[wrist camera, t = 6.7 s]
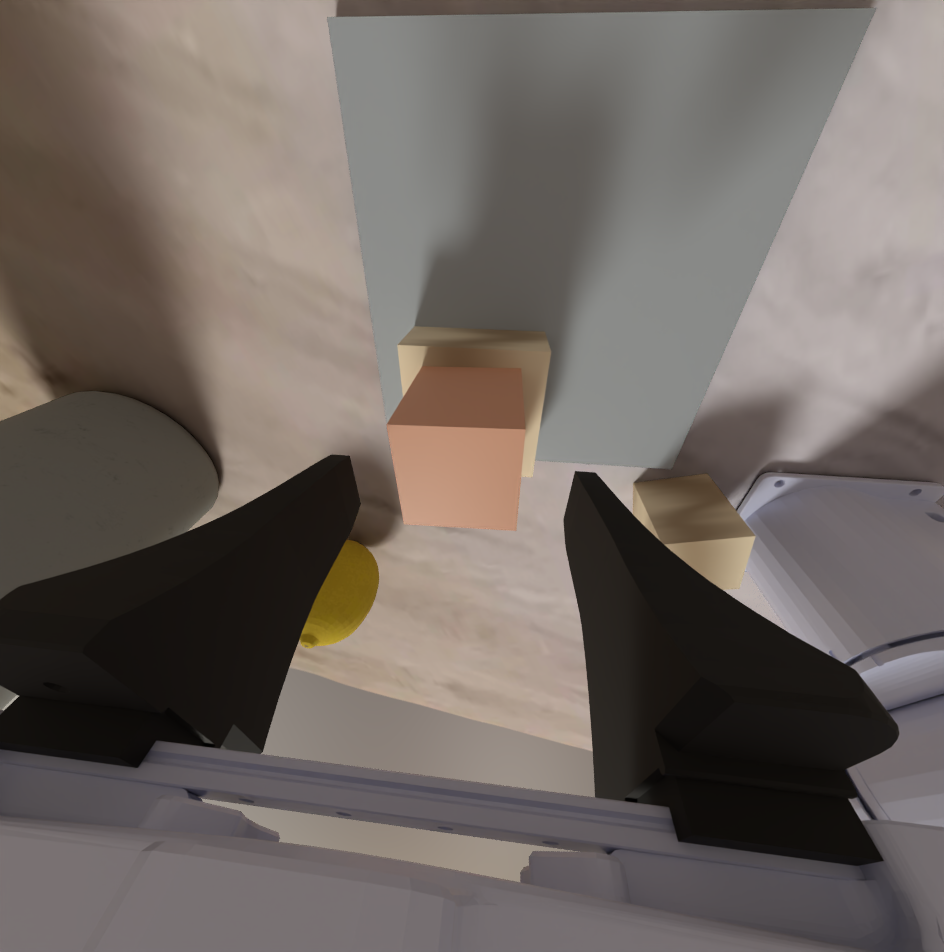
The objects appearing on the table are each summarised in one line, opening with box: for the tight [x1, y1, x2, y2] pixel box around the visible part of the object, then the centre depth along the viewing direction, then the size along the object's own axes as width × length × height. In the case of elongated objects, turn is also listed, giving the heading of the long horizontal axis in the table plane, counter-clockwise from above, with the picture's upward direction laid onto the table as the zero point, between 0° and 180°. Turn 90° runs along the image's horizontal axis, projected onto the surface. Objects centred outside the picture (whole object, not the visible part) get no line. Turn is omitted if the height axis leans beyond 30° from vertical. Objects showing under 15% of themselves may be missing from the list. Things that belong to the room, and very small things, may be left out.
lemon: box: [299, 540, 379, 648], centre depth 23 cm, size 6×6×8 cm
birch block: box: [633, 473, 756, 590], centre depth 20 cm, size 4×4×5 cm
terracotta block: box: [387, 366, 526, 531], centre depth 13 cm, size 4×4×5 cm
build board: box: [327, 8, 876, 469], centre depth 15 cm, size 16×16×1 cm
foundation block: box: [397, 326, 551, 477], centre depth 16 cm, size 6×6×3 cm
